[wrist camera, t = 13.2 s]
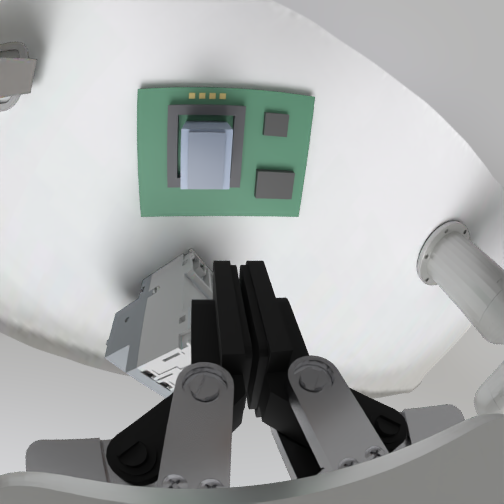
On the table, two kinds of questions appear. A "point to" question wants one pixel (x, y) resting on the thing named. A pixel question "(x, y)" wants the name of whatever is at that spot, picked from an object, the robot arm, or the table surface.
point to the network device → (15, 74)
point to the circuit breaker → (160, 324)
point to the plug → (206, 155)
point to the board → (242, 158)
